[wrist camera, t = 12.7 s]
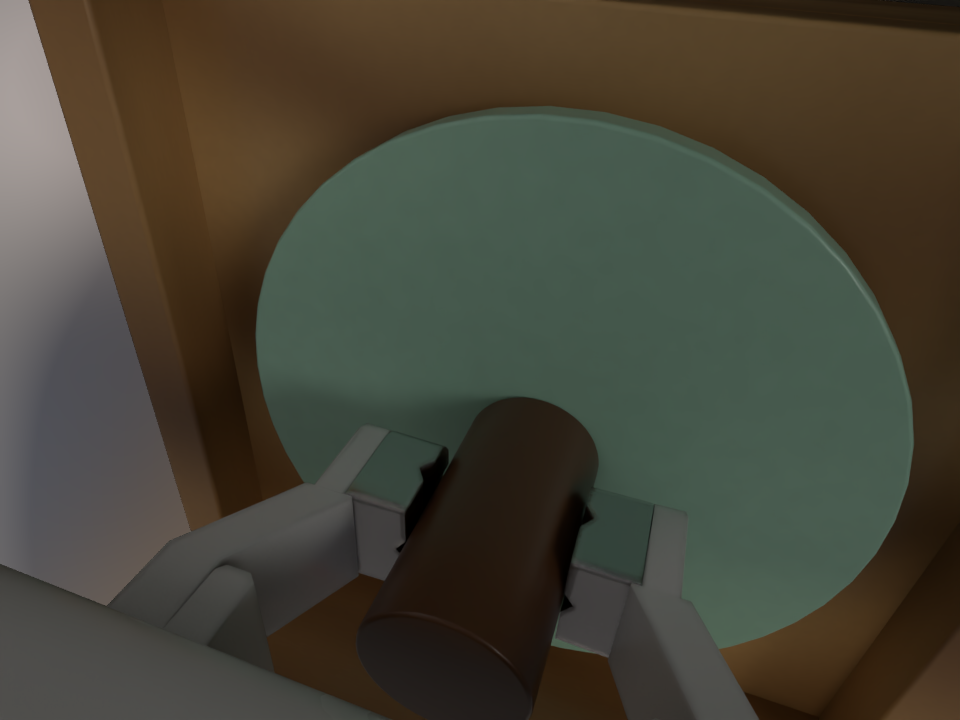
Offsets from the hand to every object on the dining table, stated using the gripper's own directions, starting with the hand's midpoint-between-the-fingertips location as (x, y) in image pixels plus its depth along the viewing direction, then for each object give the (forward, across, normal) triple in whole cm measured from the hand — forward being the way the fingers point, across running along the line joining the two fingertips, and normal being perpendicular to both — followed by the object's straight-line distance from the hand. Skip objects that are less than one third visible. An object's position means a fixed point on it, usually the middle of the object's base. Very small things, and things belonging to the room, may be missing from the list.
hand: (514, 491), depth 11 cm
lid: (+2, 0, 0) cm, 2 cm away
